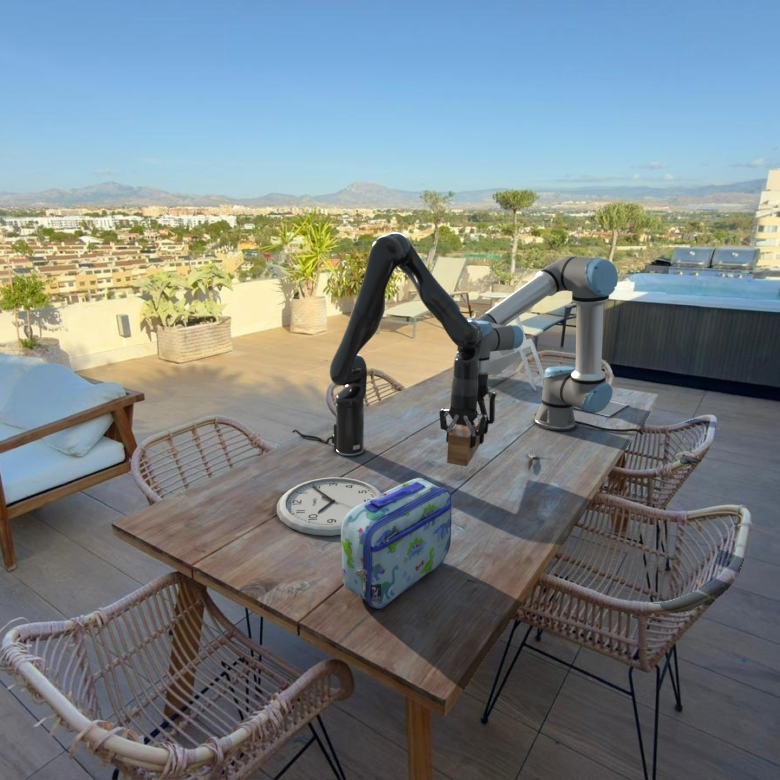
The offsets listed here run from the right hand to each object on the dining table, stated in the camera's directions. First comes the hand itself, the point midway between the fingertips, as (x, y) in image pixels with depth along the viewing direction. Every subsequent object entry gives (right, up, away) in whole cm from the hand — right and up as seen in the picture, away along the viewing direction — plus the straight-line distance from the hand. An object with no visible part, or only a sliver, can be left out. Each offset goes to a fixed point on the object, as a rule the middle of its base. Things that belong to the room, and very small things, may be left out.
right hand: (471, 440), depth 168 cm
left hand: (-5, 0, -14) cm, 15 cm away
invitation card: (+65, +9, +58) cm, 88 cm away
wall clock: (-42, -15, -26) cm, 51 cm away
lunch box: (-25, -25, -55) cm, 65 cm away
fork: (+20, -7, +3) cm, 22 cm away
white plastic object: (+28, +19, +88) cm, 94 cm away
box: (-3, -3, -6) cm, 7 cm away
